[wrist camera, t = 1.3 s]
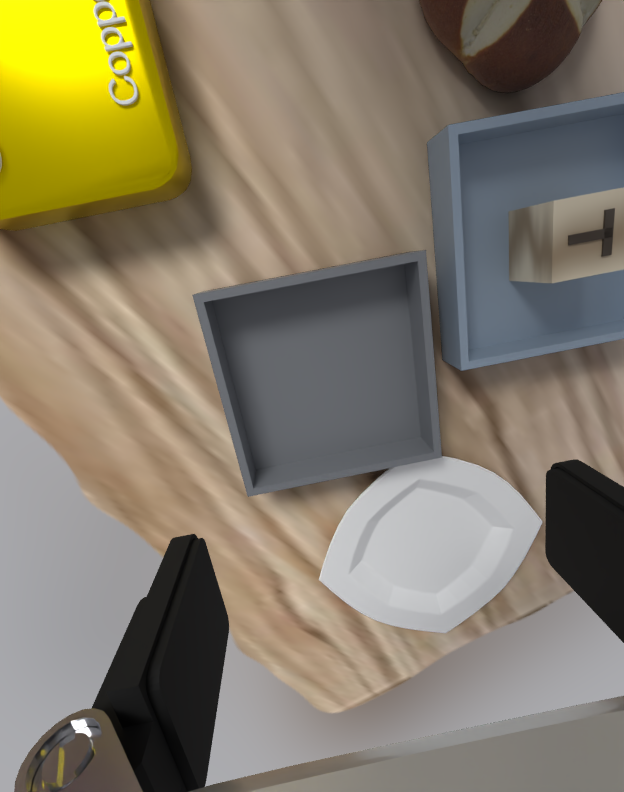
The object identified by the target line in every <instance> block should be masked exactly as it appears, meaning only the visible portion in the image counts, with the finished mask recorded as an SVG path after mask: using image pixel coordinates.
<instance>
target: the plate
mask: <svg viewBox="0 0 624 792" xmlns="http://www.w3.org/2000/svg"><path fill="white" fill-rule="evenodd" d="M541 524H542V520H541V519H540V518H539V516H538V515H537V514H536V512H535V511H534V510H533V509H532V507H531V506H530V505H529V504H528V503H527V501H526V500H525V499H524V498H523V497H522V495H521V494H520V493H519V492H518V491H517V490H515V489H514V488H513V487H512V486H511V485H510V484H509V483H508V482H507V481H505V480H504V479H503V478H501V477H500V476H498V475H497V474H495V473H494V472H492V471H489V470H487V469H485V468H483V467H481V466H479V465H476V464H473V463H469V462H466V461H463V460H459V459H456V458H451V457H446V456H442V458H437V459H432V460H427V461H422V462H417V463H412V464H407V465H402V466H397V467H392V468H389V469H388V470H386V471H385V472H384V473H383V474H382V475H381V476H379V477H378V478H377V479H376V480H375V481H374V482H373V483H372V484H371V485H370V486H369V487H368V488H367V489H366V490H365V491H363V492H362V493H361V494H360V495H359V497H358V498H357V499H356V500H355V501H354V503H353V504H352V505H351V506H350V507H349V508H348V510H347V511H346V513H345V515H344V516H343V518H342V520H341V522H340V523H339V525H338V527H337V529H336V532H335V534H334V536H333V538H332V541H331V543H330V546H329V549H328V552H327V555H326V557H325V560H324V563H323V567H322V570H321V574H320V578H319V580H320V581H321V582H322V583H323V584H324V585H325V586H326V587H328V588H329V589H330V590H331V591H332V592H333V593H335V594H336V595H337V596H338V597H339V598H341V599H342V600H343V601H344V602H345V603H347V604H348V605H350V606H351V607H353V608H354V609H356V610H357V611H359V612H360V613H362V614H364V615H366V616H368V617H370V618H372V619H374V620H376V621H379V622H382V623H385V624H388V625H392V626H397V627H402V628H406V629H413V630H421V631H429V632H439V633H447V632H448V631H450V630H451V629H453V628H454V627H456V626H457V625H459V624H460V623H462V622H463V621H464V620H466V619H467V618H468V617H470V616H471V615H473V614H474V613H475V612H477V611H478V610H479V609H480V608H482V607H483V606H484V605H485V604H486V603H488V602H489V601H490V600H491V599H492V598H493V597H495V596H496V595H497V594H498V593H499V592H500V591H501V590H502V589H503V588H504V587H505V586H506V584H507V583H508V582H509V580H510V579H511V578H512V576H513V575H514V574H515V572H516V571H517V569H518V567H519V566H520V564H521V563H522V561H523V559H524V558H525V556H526V554H527V552H528V550H529V548H530V546H531V545H532V543H533V541H534V539H535V537H536V535H537V533H538V530H539V528H540V526H541Z"/></svg>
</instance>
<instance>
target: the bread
mask: <svg viewBox="0 0 624 792" xmlns="http://www.w3.org/2000/svg"><path fill="white" fill-rule="evenodd" d="M419 1H420V4H421V8H422V10H423V13H424V16H425V18H426V20H427V23H428V25H429V26H430V28H431V30H432V31H433V33H434V34H435V36H436V37H437V38H438V39H439V41H440V42H441V43H442V44H443V45H444V46H445V47H447V48H448V49H449V50H450V51H451V52H452V53H453V54H454V55H455V56H456V57H457V58H458V59H459V60H460V61H461V62H463V64H464V66H465V68H466V69H467V71H468V73H469V74H472V75H473V76H474V77H475V78H476V79H477V80H478V81H479V82H480V83H481V84H482V85H484V86H486V87H488V88H489V89H491V90H494V91H498V92H516V91H519V90H523V89H526V88H528V87H530V86H532V85H534V84H536V83H538V82H539V81H541V80H542V79H544V78H545V77H547V76H548V75H549V74H550V73H551V72H553V71H554V70H555V69H556V68H557V67H558V66H559V65H560V64H561V62H562V61H563V60H564V59H565V58H566V56H567V55H568V54H569V52H570V51H571V49H572V48H573V46H574V45H575V43H576V41H577V40H578V38H579V35H580V33H581V31H582V27H583V26H584V24H585V23H586V22H587V21H588V19H589V18H590V17H591V16H592V14H593V13H594V12H595V10H596V9H597V8H598V6H599V5H600V3H601V2H602V0H419Z"/></svg>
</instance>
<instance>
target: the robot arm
mask: <svg viewBox="0 0 624 792" xmlns="http://www.w3.org/2000/svg"><path fill="white" fill-rule="evenodd" d="M546 557H547V559H548V562H549V563H550V565H551V566H552V567H553V568H554V570H555V571H556V572H557V573H558V574H559V575H560V576H561V577H562V578H563V579H564V580H565V581H566V582H567V583H568V584H569V585H570V586H571V588H572V589H573V590H574V591H575V592H576V593H577V594H578V595H579V596H580V597H581V598H582V599H583V600H584V601H585V602H586V603H587V605H588V606H590V608H591V609H592V610H593V611H594V612H595V613H596V614H597V615H598V616H599V617H600V618H601V619H602V620H603V621H604V622H605V623H606V624H607V626H608V627H609V628H610V629H611V630H612V631H613V632H614V633H615V634H616V635H617V636H618V637H619V638H620V639H621V641H622V642H623V643H624V487H623V486H621V485H619V484H618V483H616V482H614V481H613V480H611V479H610V478H608V477H606V476H605V475H603V474H601V473H600V472H598V471H596V470H595V469H593V468H591V467H590V466H588V465H586V464H585V463H583V462H581V461H579V460H570V461H564V462H559V463H555V464H553V465H552V467H551V470H549V471H547V473H546ZM228 633H229V620H228V615H227V612H226V608H225V605H224V602H223V598H222V595H221V592H220V589H219V585H218V582H217V579H216V576H215V572H214V569H213V566H212V562H211V559H210V556H209V553H208V549H207V546H206V543H205V540H204V539H203V538H200V539H198V538H197V536H196V535H195V534H191V535H186V536H180V537H175V538H173V539H172V540H171V541H170V544H169V546H168V548H167V551H166V553H165V555H164V558H163V560H162V562H161V565H160V567H159V569H158V572H157V574H156V576H155V579H154V581H153V583H152V586H151V588H150V590H149V593H148V595H147V597H144V598H143V599H142V600H140V602H139V604H138V605H137V607H136V610H135V612H134V614H133V617H132V619H131V621H130V623H129V625H128V628H127V630H126V632H125V634H124V637H123V639H122V641H121V643H120V646H119V648H118V650H117V652H116V655H115V657H114V659H113V662H112V664H111V666H110V668H109V670H108V673H107V675H106V677H105V679H104V682H103V684H102V686H101V688H100V691H99V693H98V695H97V697H96V700H95V702H94V704H93V706H92V709H84V710H81V711H78V712H76V713H74V714H71V715H69V716H67V717H66V718H64V719H63V720H61V721H60V722H58V723H57V724H55V725H54V726H53V727H52V728H51V729H50V730H49V731H47V732H46V733H45V734H44V735H43V736H42V737H41V738H40V739H39V741H38V742H37V743H36V744H35V745H34V747H33V748H32V749H31V750H30V752H29V753H28V755H27V757H26V758H25V760H24V762H23V763H22V765H21V767H20V769H19V773H18V775H17V778H16V781H15V791H14V792H624V696H621V697H616V698H611V699H606V700H601V701H596V702H592V703H586V704H581V705H576V706H571V707H567V708H562V709H557V710H553V711H547V712H543V713H538V714H533V715H528V716H523V717H518V718H514V719H509V720H504V721H499V722H494V723H490V724H485V725H480V726H475V727H471V728H466V729H461V730H456V731H451V732H447V733H442V734H437V735H432V736H428V737H423V738H418V739H414V740H409V741H404V742H400V743H395V744H390V745H386V746H381V747H376V748H372V749H367V750H363V751H358V752H353V753H349V754H344V755H339V756H335V757H330V758H325V759H321V760H316V761H312V762H307V763H302V764H298V765H293V766H289V767H285V768H281V769H277V770H272V771H268V772H264V773H260V774H255V775H251V776H247V777H243V778H238V779H235V780H230V781H226V782H222V783H218V784H213V785H210V786H206V787H205V783H206V778H207V772H208V765H209V759H210V752H211V745H212V738H213V732H214V726H215V719H216V712H217V705H218V699H219V692H220V686H221V679H222V673H223V666H224V660H225V652H226V646H227V640H228Z"/></svg>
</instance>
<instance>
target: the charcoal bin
mask: <svg viewBox="0 0 624 792" xmlns="http://www.w3.org/2000/svg"><path fill="white" fill-rule="evenodd" d="M193 299H194V302H195V306H196V310H197V313H198V317H199V321H200V324H201V328H202V332H203V335H204V339H205V342H206V346H207V350H208V353H209V357H210V361H211V364H212V368H213V372H214V375H215V379H216V382H217V386H218V390H219V393H220V397H221V401H222V404H223V408H224V412H225V415H226V419H227V423H228V426H229V430H230V433H231V437H232V441H233V444H234V448H235V452H236V455H237V459H238V463H239V466H240V470H241V473H242V477H243V481H244V484H245V488H246V492H247V495H248V497H249V496H254V495H258V494H263V493H268V492H273V491H278V490H283V489H288V488H293V487H298V486H303V485H308V484H313V483H318V482H323V481H328V480H333V479H338V478H343V477H348V476H353V475H358V474H363V473H368V472H373V471H377V470H382V469H387V468H392V467H397V466H402V465H407V464H412V463H417V462H422V461H427V460H432V459H437V458H442V453H441V440H440V427H439V414H438V401H437V388H436V375H435V363H434V350H433V337H432V324H431V311H430V298H429V285H428V272H427V259H426V250H423V251H414V252H406V253H401V254H396V255H391V256H386V257H380V258H375V259H370V260H365V261H360V262H354V263H349V264H344V265H339V266H333V267H328V268H323V269H318V270H313V271H307V272H302V273H297V274H292V275H287V276H281V277H276V278H271V279H266V280H260V281H255V282H250V283H245V284H240V285H234V286H229V287H224V288H219V289H214V290H208V291H203V292H200V293H197V294H194V295H193Z"/></svg>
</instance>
